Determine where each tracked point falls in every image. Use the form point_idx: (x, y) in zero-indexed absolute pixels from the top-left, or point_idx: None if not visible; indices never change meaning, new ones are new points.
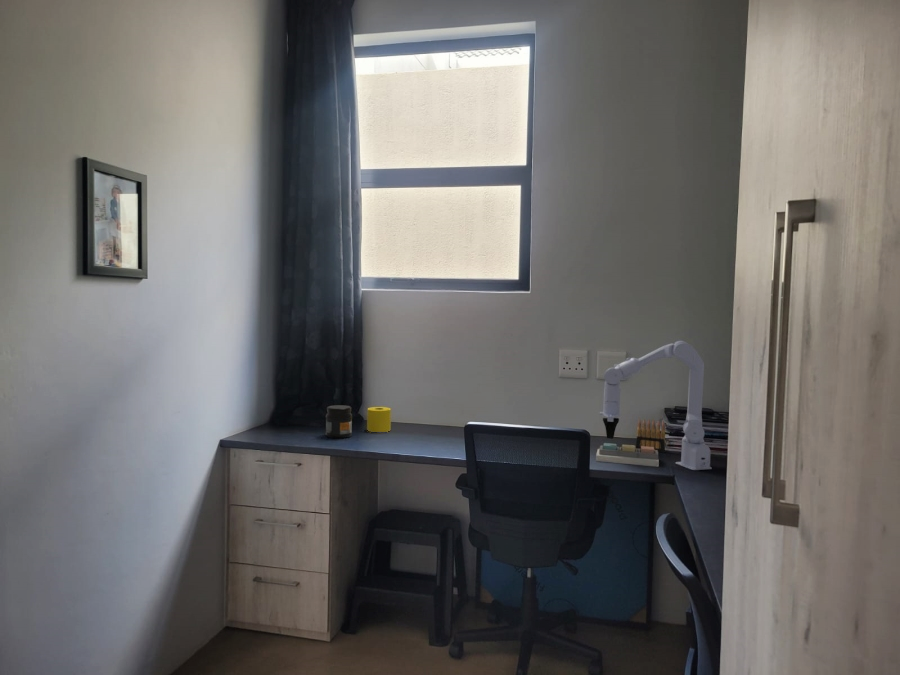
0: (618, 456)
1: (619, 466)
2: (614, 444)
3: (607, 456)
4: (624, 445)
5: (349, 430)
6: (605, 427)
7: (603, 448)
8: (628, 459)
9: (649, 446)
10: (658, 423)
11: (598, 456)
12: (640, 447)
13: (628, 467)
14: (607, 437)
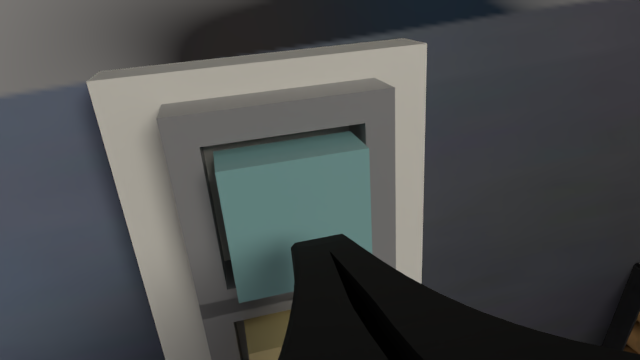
0: (189, 282)
1: (32, 295)
2: None
3: (120, 199)
4: None
5: None
6: (285, 349)
7: (214, 159)
8: (167, 353)
9: (634, 350)
10: None
11: (97, 105)
12: (637, 297)
13: (50, 354)
14: (293, 252)
